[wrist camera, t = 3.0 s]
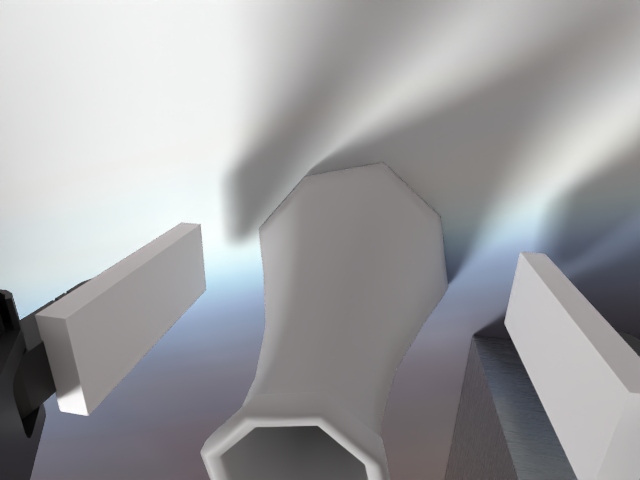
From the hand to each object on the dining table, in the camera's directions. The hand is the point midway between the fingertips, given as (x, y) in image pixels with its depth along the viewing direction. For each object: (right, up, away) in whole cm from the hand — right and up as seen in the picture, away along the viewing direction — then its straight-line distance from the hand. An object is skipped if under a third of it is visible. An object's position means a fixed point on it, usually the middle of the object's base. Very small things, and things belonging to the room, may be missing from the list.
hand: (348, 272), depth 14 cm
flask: (0, +1, +2) cm, 2 cm away
